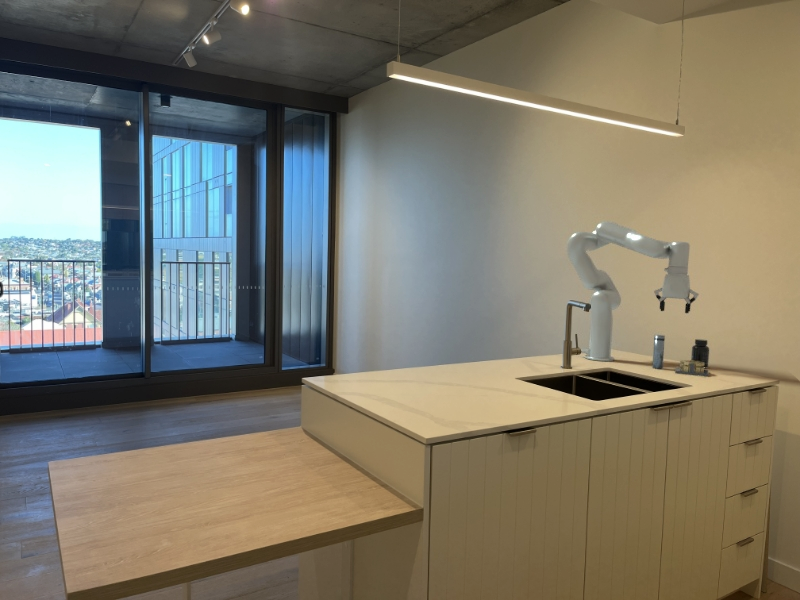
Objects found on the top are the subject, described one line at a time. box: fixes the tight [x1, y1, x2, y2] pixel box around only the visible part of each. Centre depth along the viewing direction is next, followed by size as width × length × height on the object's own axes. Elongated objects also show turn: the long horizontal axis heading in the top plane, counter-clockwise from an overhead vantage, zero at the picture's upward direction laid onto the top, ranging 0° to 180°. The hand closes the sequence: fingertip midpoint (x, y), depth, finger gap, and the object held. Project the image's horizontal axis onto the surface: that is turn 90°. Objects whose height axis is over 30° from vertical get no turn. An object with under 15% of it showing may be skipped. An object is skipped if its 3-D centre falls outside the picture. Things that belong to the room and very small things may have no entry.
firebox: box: [674, 359, 709, 377], centre depth 249 cm, size 12×12×4 cm
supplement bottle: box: [690, 338, 710, 367], centre depth 266 cm, size 7×7×12 cm
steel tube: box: [651, 334, 666, 370], centre depth 258 cm, size 4×4×14 cm
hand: (674, 312), depth 257 cm, fingers open, 9 cm apart
